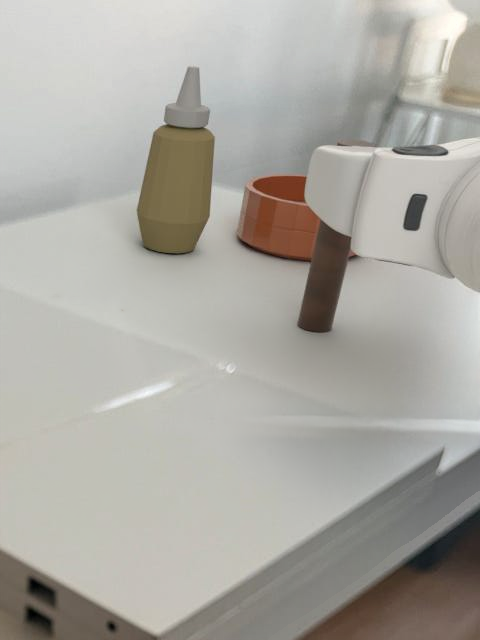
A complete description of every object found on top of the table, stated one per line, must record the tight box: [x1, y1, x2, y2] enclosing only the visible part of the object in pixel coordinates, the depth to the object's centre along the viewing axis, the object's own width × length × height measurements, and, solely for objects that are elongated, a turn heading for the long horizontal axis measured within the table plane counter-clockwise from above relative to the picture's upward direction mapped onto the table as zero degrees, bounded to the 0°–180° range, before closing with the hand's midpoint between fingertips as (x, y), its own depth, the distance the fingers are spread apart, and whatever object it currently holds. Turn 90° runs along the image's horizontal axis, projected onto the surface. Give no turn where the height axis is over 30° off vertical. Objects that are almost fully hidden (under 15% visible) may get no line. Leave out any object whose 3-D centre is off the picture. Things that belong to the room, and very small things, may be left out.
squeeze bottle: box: [136, 66, 216, 254], centre depth 111 cm, size 8×8×18 cm
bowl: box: [236, 173, 358, 262], centre depth 118 cm, size 15×15×6 cm
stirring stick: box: [297, 139, 377, 333], centre depth 93 cm, size 3×3×16 cm
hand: (418, 159), depth 77 cm, fingers open, 8 cm apart
